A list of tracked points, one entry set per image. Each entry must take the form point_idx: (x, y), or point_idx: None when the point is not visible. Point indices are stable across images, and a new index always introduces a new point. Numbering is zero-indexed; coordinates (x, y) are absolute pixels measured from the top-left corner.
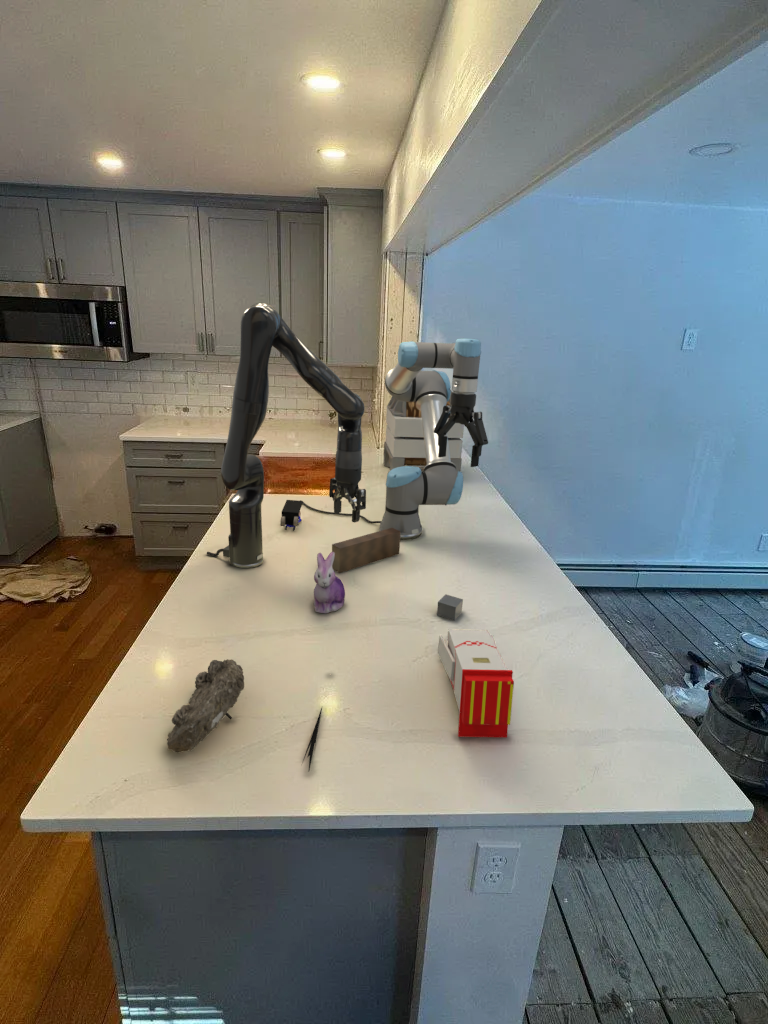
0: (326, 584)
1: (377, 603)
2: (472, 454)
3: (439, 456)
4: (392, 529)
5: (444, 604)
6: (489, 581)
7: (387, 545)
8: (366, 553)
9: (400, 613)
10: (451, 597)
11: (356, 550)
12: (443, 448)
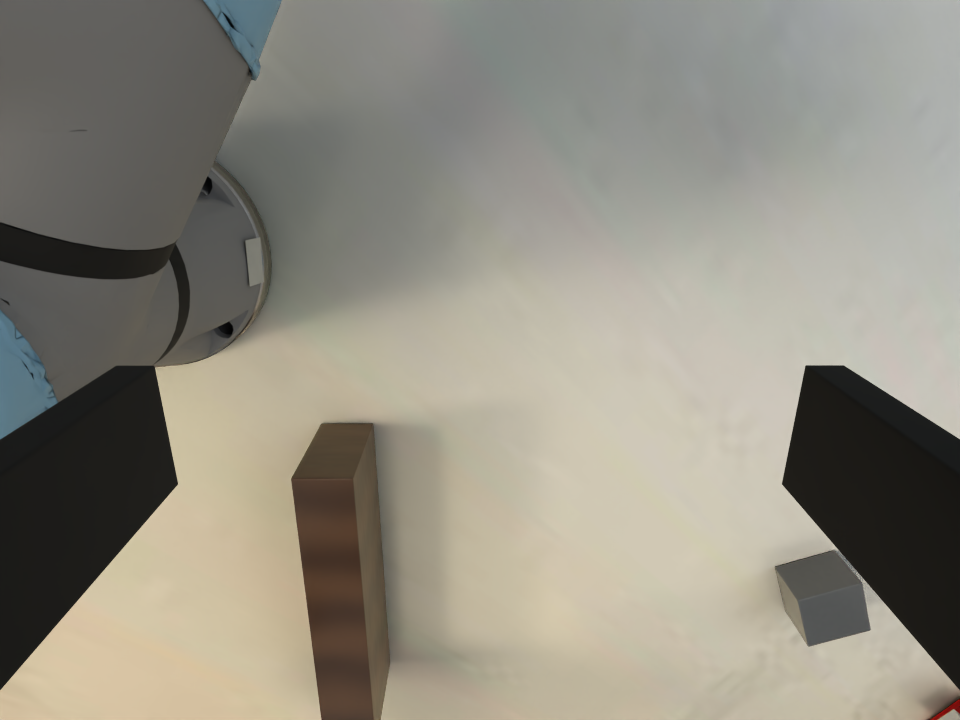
0: None
1: (615, 683)
2: (918, 619)
3: (162, 492)
4: (313, 493)
5: (830, 639)
6: (787, 311)
7: (368, 516)
8: (376, 603)
9: (701, 671)
10: (825, 601)
11: (376, 663)
12: (83, 503)
